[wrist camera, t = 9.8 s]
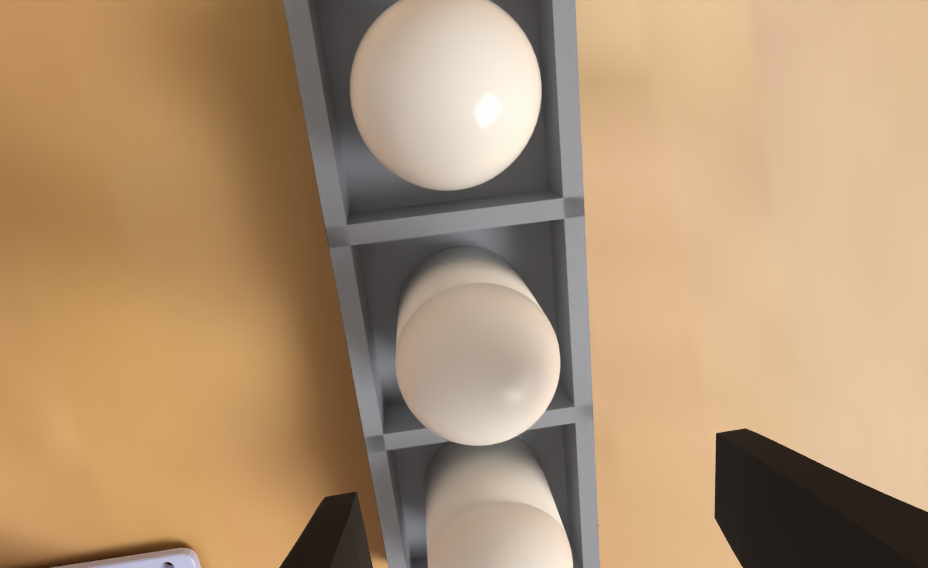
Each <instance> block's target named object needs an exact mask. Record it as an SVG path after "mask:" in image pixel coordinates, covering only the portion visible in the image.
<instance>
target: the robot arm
mask: <svg viewBox="0 0 928 568" xmlns="http://www.w3.org/2000/svg"><path fill="white" fill-rule="evenodd" d="M715 519H716V521H717V523H718V525H719V526H720V528H721V530H722V532H723V534H724V536H725V538H726V539H727V541H728V543H729V545H730V547H731V548H732V550H733V552H734V553H735V555H736V557H737V559H738V560H739V562H740V564H741V565H742V567H743V568H928V512H926V511H924V510H921V509H919V508H917V507H914V506H912V505H910V504H907V503H905V502H903V501H900V500H898V499H896V498H893V497H891V496H889V495H886V494H884V493H882V492H880V491H877V490H875V489H873V488H871V487H869V486H866V485H864V484H862V483H860V482H858V481H856V480H853V479H851V478H849V477H847V476H845V475H843V474H841V473H839V472H837V471H834V470H832V469H830V468H828V467H826V466H824V465H822V464H820V463H818V462H816V461H814V460H812V459H810V458H808V457H806V456H804V455H802V454H800V453H798V452H795V451H793V450H791V449H789V448H787V447H785V446H783V445H781V444H779V443H777V442H775V441H773V440H771V439H768V438H766V437H764V436H762V435H760V434H758V433H755V432H753V431H750V430H748V429H740V430H734V431H727V432H721V433H716V472H715ZM165 562H170V563H172V564H173V565H168V564H166V563H165ZM52 568H201V566H200V562H199V559H198V556H197V554H196V553H195V552H194V551H193V550H191V549H188V548H176V549H169V550H163V551H156V552H150V553H143V554H136V555H130V556H123V557H117V558H110V559H104V560H97V561H91V562H84V563H78V564H71V565H65V566H58V567H52ZM279 568H373V566H372V561H371V557H370V552H369V547H368V543H367V538H366V533H365V528H364V524H363V519H362V514H361V510H360V505H359V500H358V495H357V492H353V493H347V494H341V495H334V496H328V497H325V498H324V499H323V501H322V502H321V503H320V505H319V506H318V508H317V510H316V511H315V513H314V514H313V516H312V518H311V519H310V521H309V523H308V524H307V526H306V527H305V529H304V531H303V532H302V534H301V535H300V537H299V539H298V540H297V542H296V543H295V545H294V546H293V548H292V550H291V551H290V553H289V554H288V556H287V557H286V559H285V560H284V562H283V563H282V565H281V566H280V567H279Z"/></svg>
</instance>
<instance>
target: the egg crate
mask: <svg viewBox="0 0 928 568" xmlns="http://www.w3.org/2000/svg"><path fill="white" fill-rule="evenodd" d="M398 1H400V0H283V4H284V9H285V14H286V20H287V25H288V30H289V36H290V41H291V47H292V52H293V57H294V63H295V68H296V73H297V79H298V84H299V90H300V95H301V100H302V106H303V111H304V116H305V122H306V127H307V132H308V138H309V143H310V149H311V154H312V159H313V165H314V170H315V175H316V181H317V186H318V192H319V197H320V202H321V208H322V213H323V218H324V224H325V229H326V234H327V240H328V245H329V251H330V256H331V261H332V267H333V272H334V277H335V283H336V288H337V294H338V299H339V304H340V310H341V315H342V320H343V326H344V331H345V336H346V342H347V347H348V353H349V358H350V363H351V369H352V374H353V379H354V385H355V390H356V395H357V401H358V406H359V412H360V417H361V422H362V428H363V433H364V438H365V444H366V449H367V455H368V460H369V465H370V471H371V476H372V481H373V487H374V492H375V497H376V503H377V508H378V514H379V519H380V524H381V530H382V535H383V540H384V546H385V551H386V557H387V562H388V567H389V568H600V560H599V537H598V514H597V491H596V468H595V445H594V422H593V399H592V376H591V353H590V330H589V307H588V284H587V261H586V238H585V215H584V192H583V169H582V147H581V124H580V101H579V78H578V55H577V32H576V9H575V0H490V1H491V2H493V3H495V4H496V5H498V6H499V7H501V8H502V9H503V10H504V11H506V12H507V13H508V14H509V15H510V16H511V17H512V18H513V19H514V20H515V21H516V22H517V23H518V25H519V26H520V27H521V29H522V30H523V32H524V33H525V34H526V36H527V38H528V40H529V42H530V43H531V45H532V48H533V50H534V53H535V55H536V58H537V62H538V65H539V69H540V76H541V88H542V97H541V105H540V112H539V116H538V120H537V123H536V126H535V128H534V131H533V134H532V136H531V137H530V139H529V141H528V143H527V145H526V146H525V148H524V149H523V151H522V152H521V154H520V155H519V156H518V157H517V158H516V159H515V160H514V162H513V163H512V164H511V165H510V166H508V167H507V168H506V169H505V170H504V171H503V172H501V173H500V174H498V175H497V176H495V177H494V178H492V179H490V180H488V181H486V182H484V183H482V184H480V185H477V186H474V187H471V188H466V189H461V190H452V191H441V190H432V189H427V188H422V187H419V186H416V185H413V184H411V183H409V182H407V181H405V180H403V179H401V178H399V177H397V176H396V175H395V174H393V173H392V172H390V171H389V170H388V169H387V168H385V167H384V166H383V165H382V164H381V163H380V162H379V161H378V160H377V159H376V158H375V157H374V155H373V154H372V153H371V152H370V150H369V149H368V147H367V146H366V144H365V143H364V141H363V139H362V137H361V135H360V133H359V131H358V128H357V125H356V123H355V120H354V116H353V112H352V108H351V100H350V77H351V70H352V65H353V61H354V58H355V54H356V51H357V49H358V47H359V45H360V42H361V40H362V38H363V37H364V35H365V34H366V32H367V30H368V29H369V27H370V26H371V25H372V24H373V22H374V21H375V20H376V19H377V18H378V17H379V16H380V15H381V14H382V13H383V12H384V11H385V10H386V9H388V8H389V7H390V6H392V5H393V4H395V3H396V2H398Z"/></svg>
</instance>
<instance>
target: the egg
mask: <svg viewBox="0 0 928 568" xmlns="http://www.w3.org/2000/svg"><path fill="white" fill-rule="evenodd" d="M541 97H542V88H541V76H540V69H539V65H538V62H537V58H536V55H535V53H534V50H533V48H532V45H531V43H530V42H529V40H528V38H527V36H526V34H525V33H524V32H523V30H522V29H521V27H520V26H519V25H518V23H517V22H516V21H515V20H514V19H513V18H512V17H511V16H510V15H509V14H508V13H507V12H506V11H504V10H503V9H502V8H501V7H499V6H498V5H496V4H495V3H493V2H491V1H490V0H400V1H398V2H396V3H395V4H393V5H392V6H390V7H389V8H388V9H386V10H385V11H384V12H383V13H382V14H381V15H380V16H379V17H378V18H377V19H376V20H375V21H374V22H373V24H372V25H371V26H370V27H369V29H368V30H367V32H366V34H365V35H364V37H363V38H362V40H361V42H360V45H359V47H358V49H357V51H356V54H355V58H354V61H353V65H352V70H351V77H350V100H351V108H352V112H353V116H354V120H355V123H356V125H357V128H358V131H359V133H360V135H361V137H362V139H363V141H364V143H365V144H366V146H367V147H368V149H369V150H370V152H371V153H372V154H373V155H374V157H375V158H376V159H377V160H378V161H379V162H380V163H381V164H382V165H383V166H384V167H385V168H387V169H388V170H389V171H390V172H392V173H393V174H395V175H396V176H397V177H399V178H401V179H403V180H405V181H407V182H409V183H411V184H413V185H416V186H419V187H422V188H427V189H432V190H441V191H452V190H461V189H466V188H471V187H474V186H477V185H480V184H482V183H484V182H486V181H488V180H490V179H492V178H494V177H495V176H497V175H498V174H500V173H501V172H503V171H504V170H505V169H506V168H507V167H508V166H510V165H511V164H512V163H513V162H514V160H515V159H516V158H517V157H518V156H519V155H520V154H521V152H522V151H523V149H524V148H525V146H526V145H527V143H528V141H529V139H530V137H531V136H532V134H533V131H534V128H535V126H536V123H537V120H538V116H539V112H540V105H541Z"/></svg>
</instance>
